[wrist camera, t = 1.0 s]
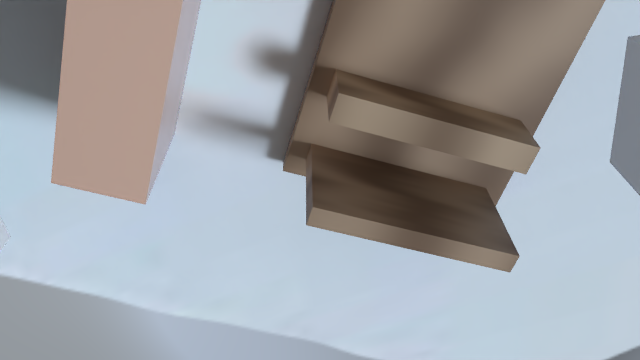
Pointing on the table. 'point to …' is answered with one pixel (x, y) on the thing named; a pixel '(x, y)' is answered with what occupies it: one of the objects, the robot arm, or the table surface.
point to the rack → (430, 117)
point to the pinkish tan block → (120, 92)
